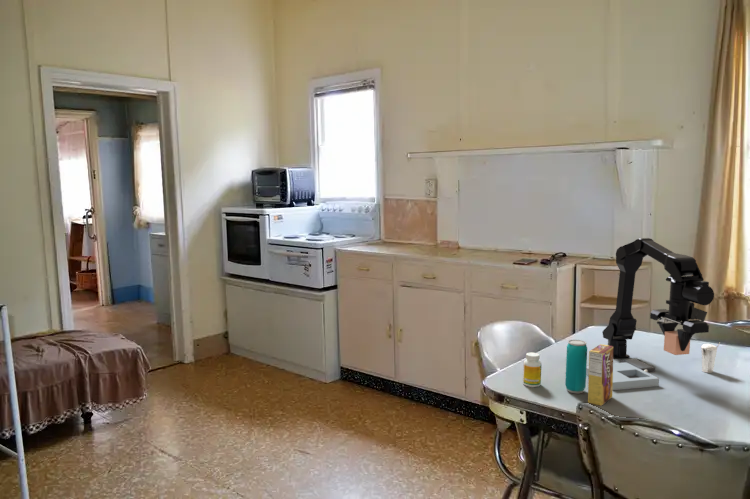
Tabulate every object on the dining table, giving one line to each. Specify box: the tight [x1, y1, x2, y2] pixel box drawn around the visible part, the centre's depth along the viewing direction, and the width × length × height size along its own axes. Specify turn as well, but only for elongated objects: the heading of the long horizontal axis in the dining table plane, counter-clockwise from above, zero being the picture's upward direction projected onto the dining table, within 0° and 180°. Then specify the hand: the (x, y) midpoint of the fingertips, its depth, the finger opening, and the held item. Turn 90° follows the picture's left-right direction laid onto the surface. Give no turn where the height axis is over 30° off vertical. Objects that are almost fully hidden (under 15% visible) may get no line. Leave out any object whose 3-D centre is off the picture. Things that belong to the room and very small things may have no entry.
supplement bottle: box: [522, 351, 542, 388], centre depth 186 cm, size 5×5×10 cm
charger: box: [663, 330, 691, 356], centre depth 186 cm, size 5×5×6 cm
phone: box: [620, 358, 656, 373], centre depth 203 cm, size 10×6×1 cm, turn 13°
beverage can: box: [564, 339, 588, 395], centre depth 180 cm, size 6×6×15 cm
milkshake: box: [700, 342, 721, 374], centre depth 198 cm, size 4×5×10 cm
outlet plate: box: [586, 362, 660, 391], centre depth 191 cm, size 16×16×2 cm
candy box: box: [587, 343, 614, 407], centre depth 173 cm, size 9×4×15 cm, turn 140°
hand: (676, 348), depth 186 cm, fingers closed on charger, 5 cm apart
